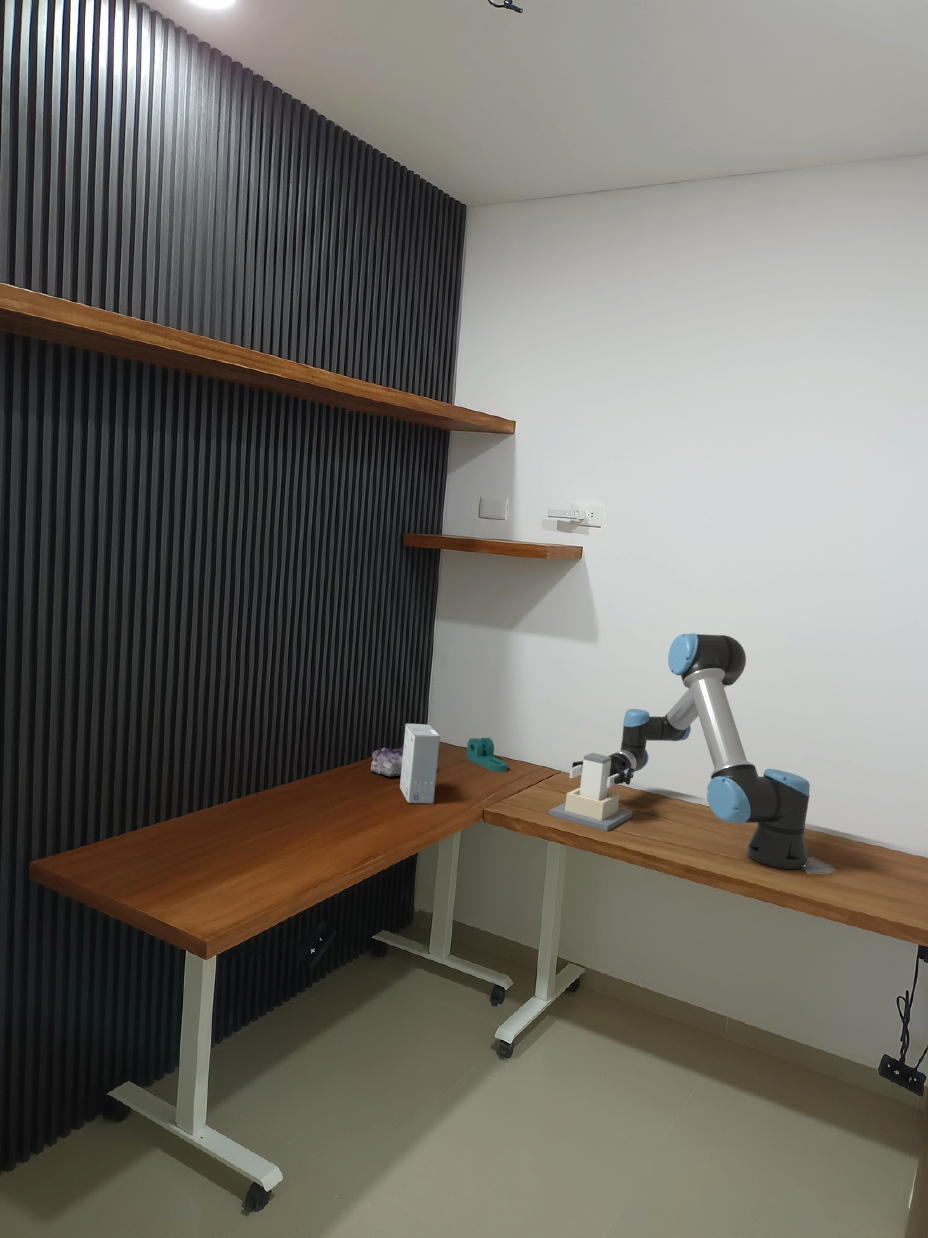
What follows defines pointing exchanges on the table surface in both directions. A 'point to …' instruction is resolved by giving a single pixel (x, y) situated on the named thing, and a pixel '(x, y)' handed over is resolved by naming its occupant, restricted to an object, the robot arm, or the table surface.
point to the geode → (387, 761)
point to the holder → (591, 811)
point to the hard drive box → (419, 763)
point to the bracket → (484, 754)
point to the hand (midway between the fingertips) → (589, 778)
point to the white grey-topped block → (595, 776)
